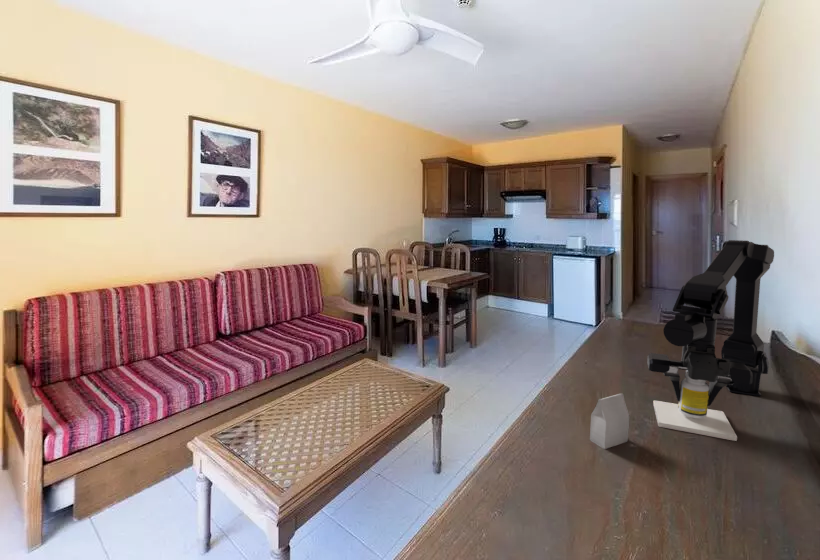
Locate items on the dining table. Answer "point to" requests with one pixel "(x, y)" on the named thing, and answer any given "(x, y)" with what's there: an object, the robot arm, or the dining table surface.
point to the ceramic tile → (694, 421)
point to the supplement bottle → (693, 397)
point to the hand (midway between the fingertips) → (693, 402)
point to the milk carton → (609, 422)
